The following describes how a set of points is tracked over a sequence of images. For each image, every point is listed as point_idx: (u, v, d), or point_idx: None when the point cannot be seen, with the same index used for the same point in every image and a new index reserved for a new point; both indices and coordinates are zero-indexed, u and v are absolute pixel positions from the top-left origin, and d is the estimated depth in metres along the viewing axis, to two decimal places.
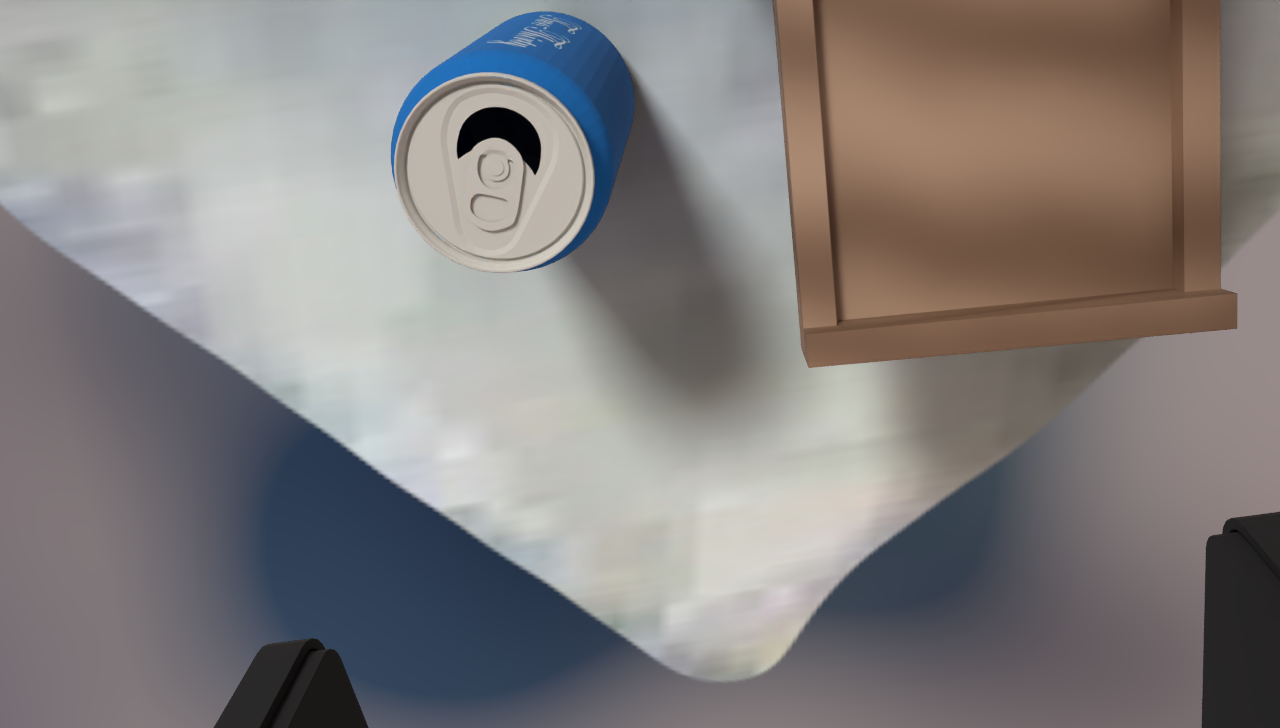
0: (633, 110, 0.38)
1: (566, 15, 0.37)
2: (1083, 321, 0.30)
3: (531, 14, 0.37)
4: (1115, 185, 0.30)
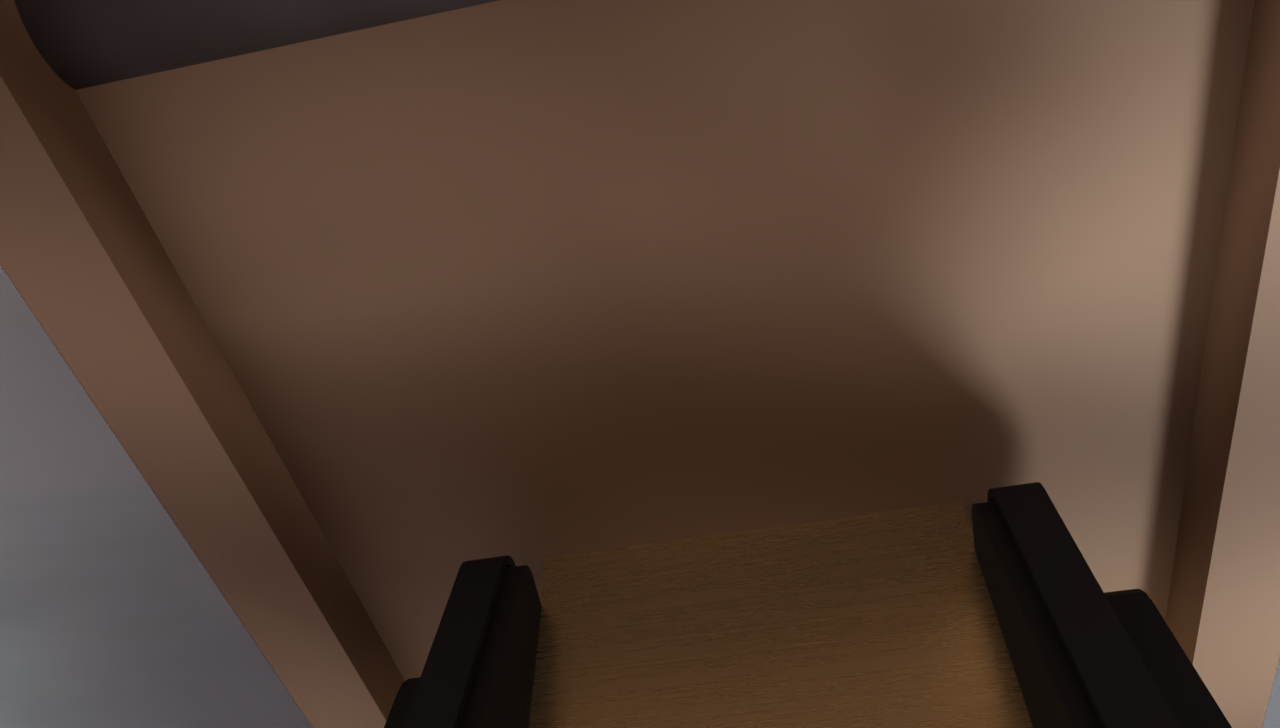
0: None
1: None
2: None
3: None
4: None
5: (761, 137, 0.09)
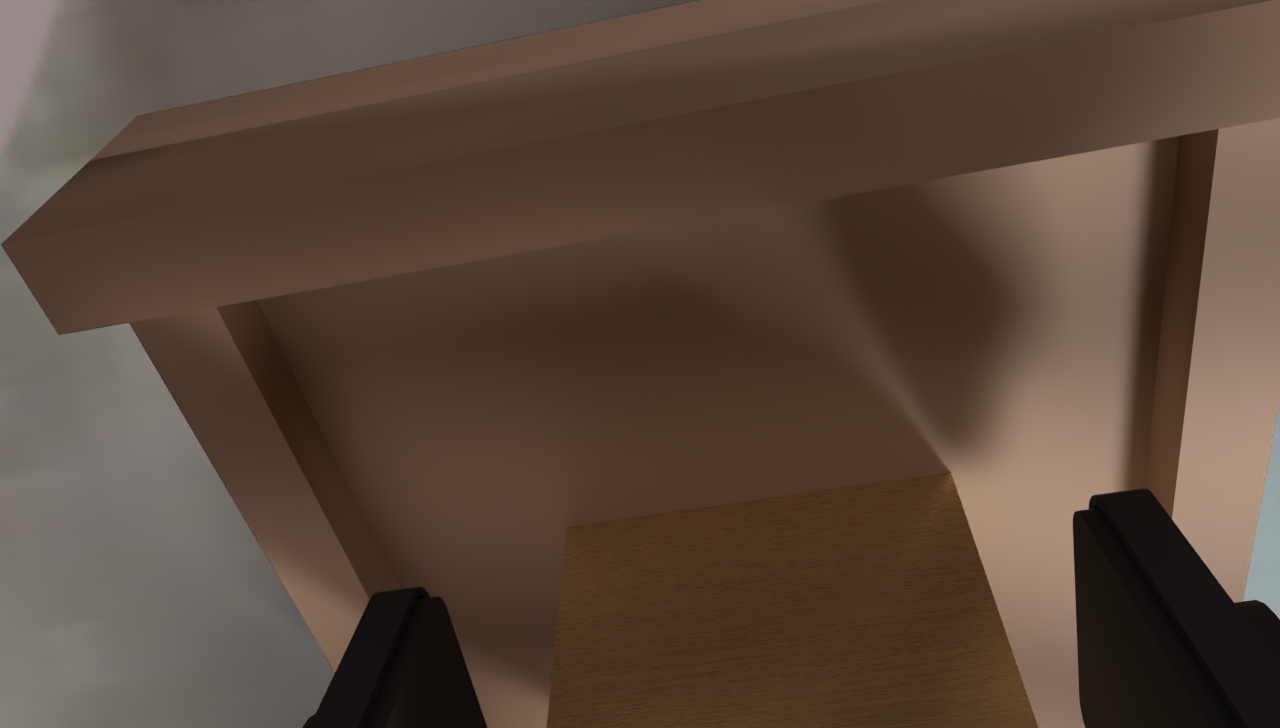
0: None
1: None
2: (464, 223, 0.09)
3: None
4: (451, 432, 0.13)
5: None
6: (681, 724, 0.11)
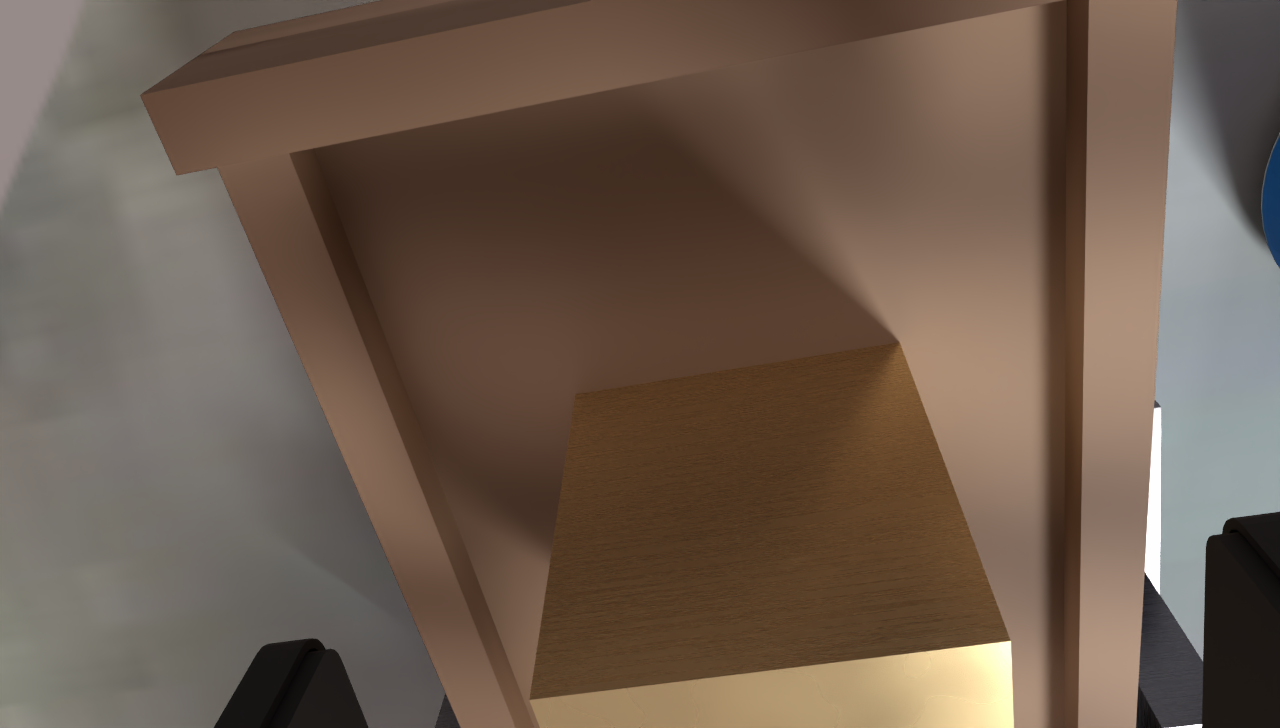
0: (1277, 176, 0.21)
1: None
2: (499, 77, 0.12)
3: None
4: (480, 302, 0.15)
5: None
6: (668, 514, 0.13)
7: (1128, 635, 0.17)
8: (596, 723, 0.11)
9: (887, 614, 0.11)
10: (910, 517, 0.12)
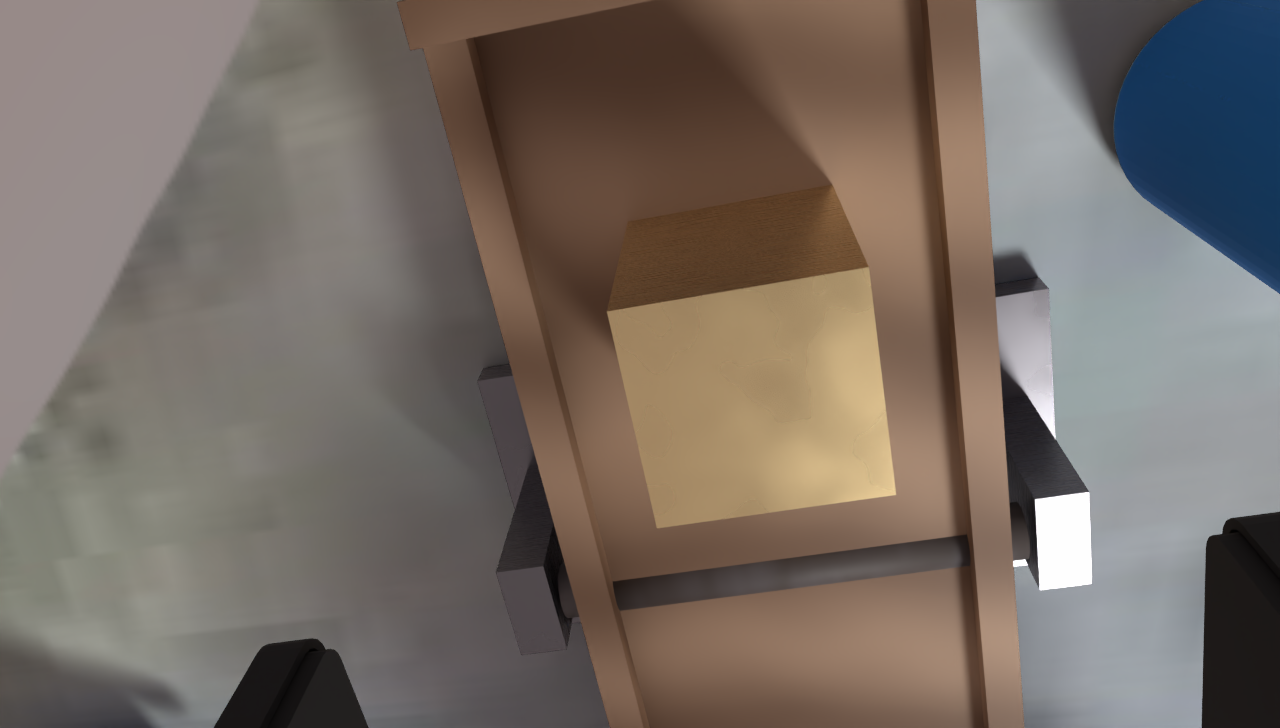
0: (1121, 112, 0.29)
1: None
2: None
3: None
4: (570, 155, 0.25)
5: (828, 630, 0.30)
6: (685, 252, 0.22)
7: (993, 398, 0.26)
8: (643, 329, 0.20)
9: (805, 267, 0.20)
10: (824, 239, 0.21)
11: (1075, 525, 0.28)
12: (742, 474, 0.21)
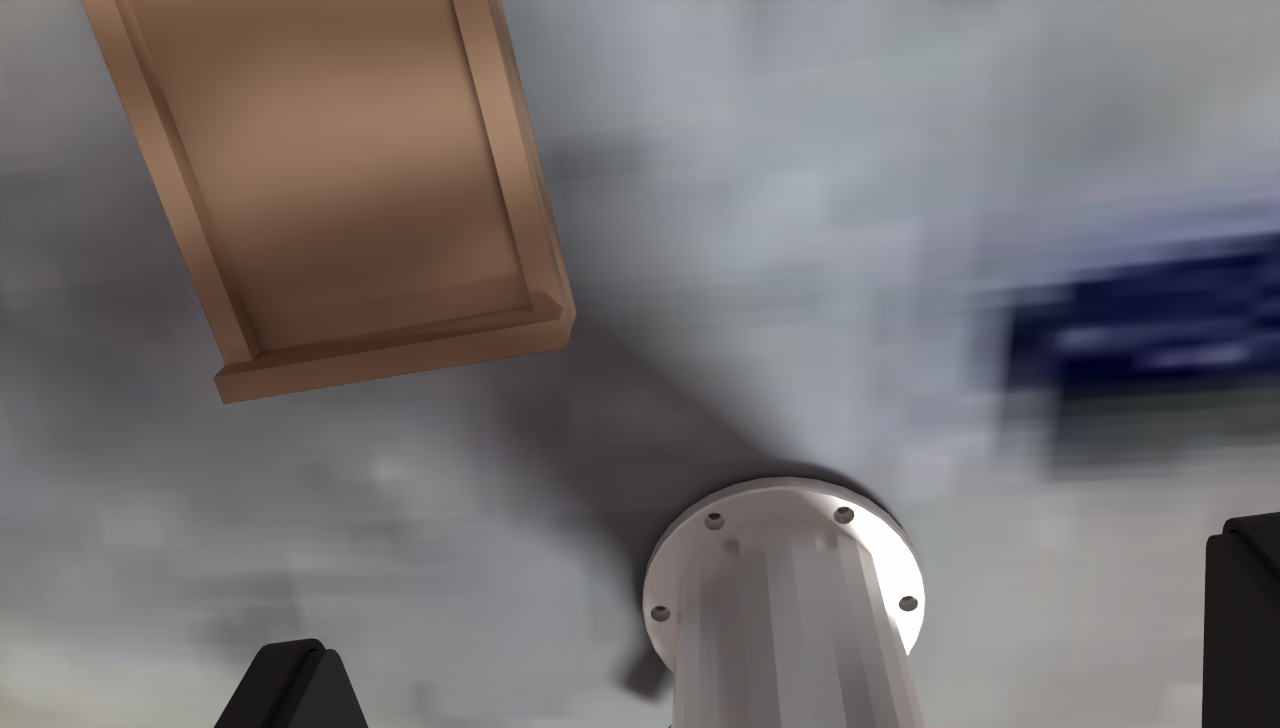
0: None
1: None
2: None
3: None
4: None
5: None
6: None
7: None
8: None
9: None
10: None
11: None
12: None
